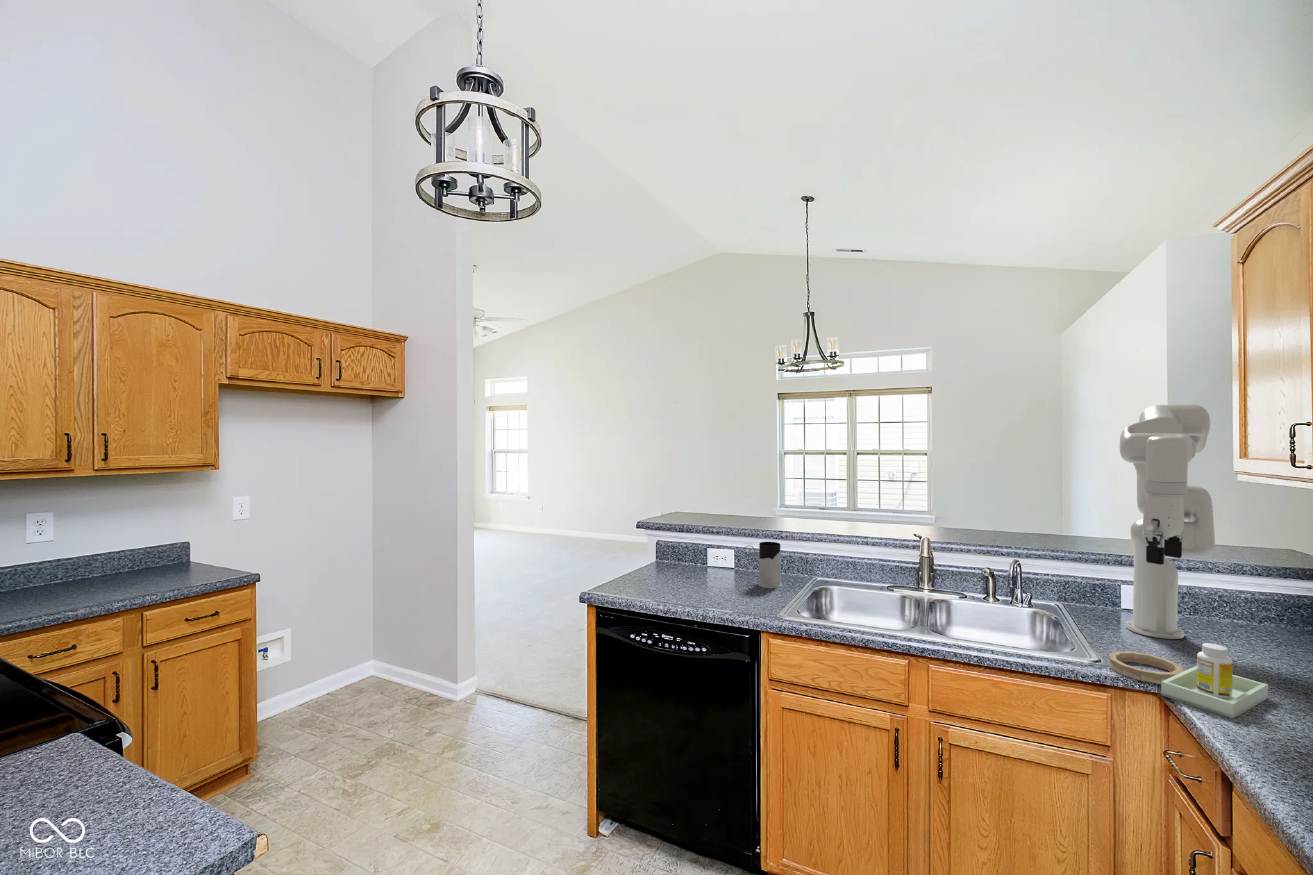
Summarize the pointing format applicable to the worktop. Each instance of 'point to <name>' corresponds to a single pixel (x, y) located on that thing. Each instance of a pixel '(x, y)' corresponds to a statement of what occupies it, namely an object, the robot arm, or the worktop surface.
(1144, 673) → the collar
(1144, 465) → the robot arm
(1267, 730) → the worktop surface
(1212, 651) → the supplement bottle
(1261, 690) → the tray
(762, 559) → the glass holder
